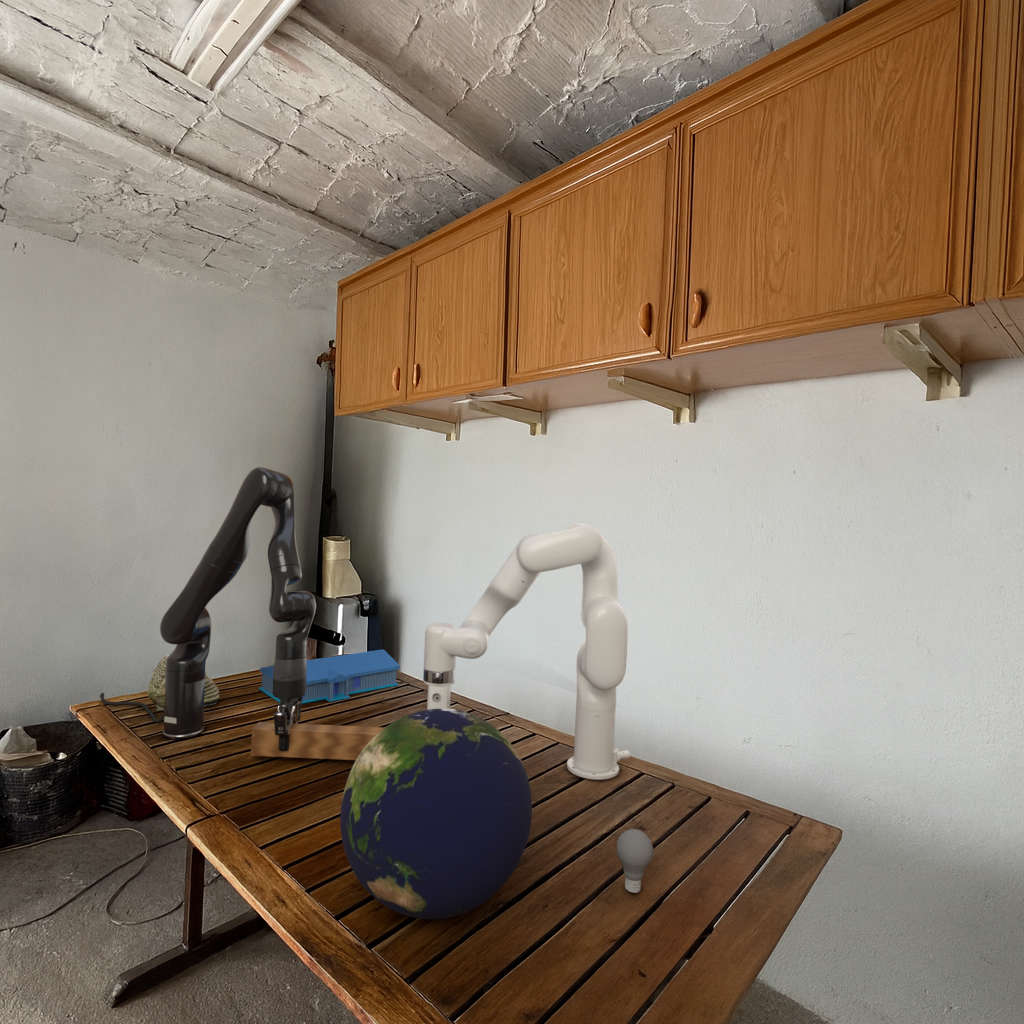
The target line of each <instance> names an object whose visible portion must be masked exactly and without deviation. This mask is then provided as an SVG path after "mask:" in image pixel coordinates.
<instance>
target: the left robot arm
mask: <svg viewBox="0 0 1024 1024" xmlns="http://www.w3.org/2000/svg"><path fill="white" fill-rule="evenodd" d="M295 499H296V498H295V487H294V483H293V480H292V479H291V477H290V476H289V475H287V474H285V473H282V472H279V471H277V470H273V469H270V468H267V467H263V466H258V467H254V468H253V469H251V470H250V471H249V472H248V474H247V475H246V476H245V478H244V479H243V481H242V483H241V484H240V487H239V488H238V491H237V494H236V495H235V498H234V501H233V502H232V505H231V507H230V508H229V511H228V513H227V515H226V517H225V518H224V520H223V521H222V523H221V526H220V527H219V528H218V531H217V532H216V534H215V536H214V537H213V539H212V540H211V541H210V543H209V545H208V547H207V548H206V550H205V551H204V553H203V555H202V557H201V558H200V561H199V563H198V565H197V566H196V567H195V569H194V570H193V572H192V574H191V576H190V577H189V579H188V580H187V583H186V584H185V585H184V587H183V589H182V591H181V592H180V593H179V594H178V596H177V597H176V599H174V601H173V603H171V605H170V606H169V608H168V609H167V610H166V612H165V613H164V614H163V616H162V618H161V621H160V624H159V632H160V637H161V638H162V641H164V642H165V643H167V644H170V645H176V646H175V648H174V649H173V651H172V652H171V653H170V654H168V655H169V656H168V658H167V659H166V674H165V705H164V710H163V713H162V715H161V716H160V718H157V717H156V715H155V714H154V712H153V711H152V710H151V709H150V707H149V706H148V705H147V704H145V703H144V702H138V701H109V700H106V699H105V693H104V692H101V693H100V695H99V698H100V700H101V702H102V703H103V704H105V705H108V706H109V705H110V706H139V707H142V708H144V710H145V711H146V712H147V713H148V715H149V716H150V717H151V719H152V721H154V722H155V723H157V724H158V723H161V722H163V730H162V737H164V738H166V739H169V740H185V739H190V738H191V739H192V738H194V737H197V736H199V735H202V734H203V732H204V730H205V729H204V727H205V725H204V722H205V721H204V718H205V706H204V693H205V672H206V664H207V663H206V662H207V658H208V656H209V653H210V649H211V648H210V647H211V639H212V637H211V636H212V617H211V614H210V613H209V610H208V609H207V608H206V607H207V606H208V604H209V603H210V602H211V601H212V600H213V598H215V597H216V596H217V594H219V593H220V592H221V591H222V590H223V589H224V588H226V586H228V585H229V584H230V583H231V581H232V580H233V579H234V578H235V577H236V575H237V574H238V573H239V571H240V569H241V568H242V566H243V564H244V563H245V561H246V559H247V557H248V555H249V552H250V525H251V522H252V520H253V519H254V516H255V514H256V512H258V509H259V508H260V507H261V506H264V507H268V508H270V509H271V512H272V515H273V519H274V526H273V531H272V534H271V536H270V540H269V543H268V545H267V562H268V566H269V573H270V578H271V579H270V595H269V601H268V613H269V616H270V617H271V619H272V620H273V621H274V622H276V623H291V622H293V624H292V625H291V627H289V628H287V629H285V630H282V631H280V632H278V633H277V635H276V637H275V652H274V655H275V656H274V662H273V665H274V670H273V696H274V697H276V698H279V699H280V703H278V705H277V711H274V713H273V723H274V725H275V735H279V751H287V750H288V749H289V734H290V726H291V725H292V724H299V722H300V721H301V716H302V715H301V714H302V706H303V703H302V699H303V697H302V696H303V695H304V694H305V693H306V677H307V661H306V660H307V647H308V646H307V645H308V637H309V633H310V630H311V626H312V623H313V621H314V619H315V618H314V617H315V614H316V611H317V603H316V598H315V596H314V595H313V593H311V592H310V591H309V590H296V591H287V589H286V588H287V586H290V585H293V584H297V583H298V582H300V580H302V577H303V573H302V566H301V561H300V555H299V551H298V547H297V537H296V509H295V508H296V507H295V506H296V505H295V504H296V502H295V501H296V500H295ZM282 727H283V730H282Z"/></svg>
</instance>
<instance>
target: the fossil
mask: <svg viewBox="0 0 1024 1024" xmlns="http://www.w3.org/2000/svg"><path fill="white" fill-rule="evenodd" d="M169 655H170V654H165V655H164V656H163V657H162V658H161V659H160V660H159V662H158V663H157V666H156V667H155V669H154V670H153V672H152V675H151V677H150V680H149V684H148V688H147V697H148V699H149V700H150V701H152V703H153V704H154V706H155V711H158V712H159V711H162V712H163V711H164V705H165V674H166V659H167V658H168V656H169ZM220 698H221V696H220V690H219V688H218V686H217V685H216V683H215V682H214V681H213V679H212V678H211V677H209V675H208V674H207V672H206V671H205V693H204V707H207V706H213V705H215V704H217V703H218V701H219V699H220Z"/></svg>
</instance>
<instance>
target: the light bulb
mask: <svg viewBox="0 0 1024 1024" xmlns="http://www.w3.org/2000/svg"><path fill="white" fill-rule="evenodd" d="M615 849H616V854H617V857H618V859H619V861H620V863H621V865H622V867H623V873H624V874H623V875H624V876H625V878H624V888H625V890H627V891H628V892H630V893H634V894H635V893H639V892H640V891H641V889H642V887H641V886H642V879H643V877H644V875H645V871H646V868H647V867H648V866H649V864H650V863H651V861H652V859H653V855H654V847H653V843H652V841H651V838H649V836H648V835H647V834H646V833H645V832H643V831H642V830H641V829H636V828H629V829H627V830H625V831H623V832H622V833H621V834H620V835H619V837H618V839H617V841H616V847H615Z"/></svg>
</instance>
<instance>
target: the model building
mask: <svg viewBox="0 0 1024 1024" xmlns="http://www.w3.org/2000/svg"><path fill="white" fill-rule="evenodd" d="M306 661H307V677H306V693H305V694H304V695H303V696H302V697H303V699H302V704H307V703H312V702H317V701H323V700H325V701H327V702H329V703H330V702H335V701H341V700H346V699H347V700H348V699H350V698H351V695H353V694H359V693H364V692H365V693H366V692H369V691H373V690H381V689H385V688H390V687H391V688H392V687H395V686H399V683H398V682H397V670H400V669H401V665H400V664H399V663H398V662H397V661H396V660H395V659H394V658H393V657H392V656H391V654H389V653H388V652H387V651H386V650H385V649H376V650H368V651H363V652H356V653H349V654H342V655H341V654H340V655H335V656H329V657H328V656H327V657H321V658H315V659H314V658H313V659H306ZM273 670H274V664H272V665H268V666H264V667H263V666H262V667H260V668H259V672H260V673H261V686H260V687H258V690H260V691H261V692H262V693H264V694H265V695H267V696H268V697H270V698H271V699H273V700H274V701H276V702H277V703H278V704H280V699H279V698H276V697H274V696H273Z"/></svg>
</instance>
